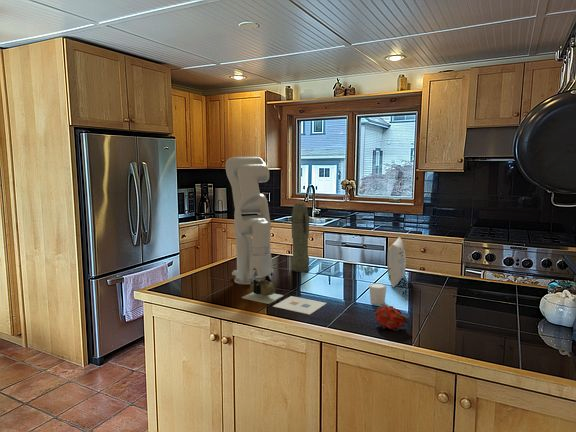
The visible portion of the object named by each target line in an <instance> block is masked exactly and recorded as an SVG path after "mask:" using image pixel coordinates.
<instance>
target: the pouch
mask: <svg viewBox="0 0 576 432" xmlns="http://www.w3.org/2000/svg"><path fill="white" fill-rule="evenodd" d="M406 253H407V252H406V248H405V244H404V241H403V239H402V238H401V236H399V237H398V238H397V239H396V240H395V241H394V242H393V243H392V244H391V246H389V248H388V251H387V258H386V260H387V261H386V262H387V263H386V264H387V274H388V278H389V279H388V280H389V282H390V285H391V287H392V288H393V289H394V288H395V287H397V285H398V284H399V282H400V281H401V280H402V278H403V277H404V275H405V273H406V267H407V255H406Z"/></svg>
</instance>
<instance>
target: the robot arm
mask: <svg viewBox="0 0 576 432" xmlns="http://www.w3.org/2000/svg"><path fill="white" fill-rule="evenodd" d="M225 172H226V176H227V179H228V181H229V183H230V184H229V185H230V186H231V192H232V199H233V206H234V214H233V216H234V222H233V230H234V234H235V245H236V247H235V248H236V269H233V271H232V272H231V276H235V278H234V279H233V280H234V283H235V284H237V285H251V282H252V284H253V287H254V291H253V292H254V294H261V291H260V285H259V284H260V280H261V279H264V280H267V281H269V282H272V279H273V278H272V277H273V273H274V271H275V268H274V267H273V260H272V253H271V228H272V227H271V225H272V224H271V218H270V211H269V210H270V209H269V205H268V199H267V196H265V194H263V193H261V192H260V187H259V183H267V182H269V180H270V170H269V168H268V166H267V163H266V162H265V161H264V160H263V158H261V157H259V156H233V157H230V158H228V159H226V161H225ZM249 214H250V215H249ZM251 214H257V215H251ZM256 279H258V281H256Z"/></svg>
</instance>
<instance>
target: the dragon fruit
mask: <svg viewBox="0 0 576 432" xmlns="http://www.w3.org/2000/svg"><path fill="white" fill-rule="evenodd" d="M374 316H375V317H374V321H375V322H377V323H379V324H380V325H381V327H382V330H385V329H386V328H388V329H390V330H391V331H395V332H396V331H397V332H398V331H400V329H399V328H402V327H405V326H406V324H407V323H408V324H409V321H408V320H409V319H408V318H407V316H406V315H404V314H403V313H402V311H401V310H400V309H398V308H397V309H396V308H395V307H394V306H392V305H387V304H382V306H381V305H380V306H378V307H377V308H376V309H375V312H374Z"/></svg>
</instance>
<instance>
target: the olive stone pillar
mask: <svg viewBox="0 0 576 432" xmlns="http://www.w3.org/2000/svg"><path fill="white" fill-rule="evenodd" d="M290 215H291V239H292V257H291V265H292V271H293V272H296V273H304V272H308V271H309V270H310V268H309V266H310V256H309V254H308V253H309V237H310V236H309V235H310V216H309V214H308V206H307V205H306V203H303V202H300V203H299V202H298V203H294V205H293V207H292V212H291V214H290Z"/></svg>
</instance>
